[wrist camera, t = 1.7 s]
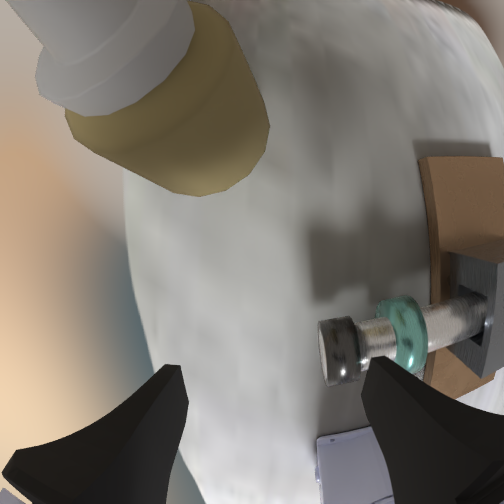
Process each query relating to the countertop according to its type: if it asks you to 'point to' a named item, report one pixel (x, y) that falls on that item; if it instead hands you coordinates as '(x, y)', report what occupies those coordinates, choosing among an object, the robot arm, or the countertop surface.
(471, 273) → the sharpening stone
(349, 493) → the robot arm
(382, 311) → the shaft
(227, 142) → the squeeze bottle
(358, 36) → the countertop surface
